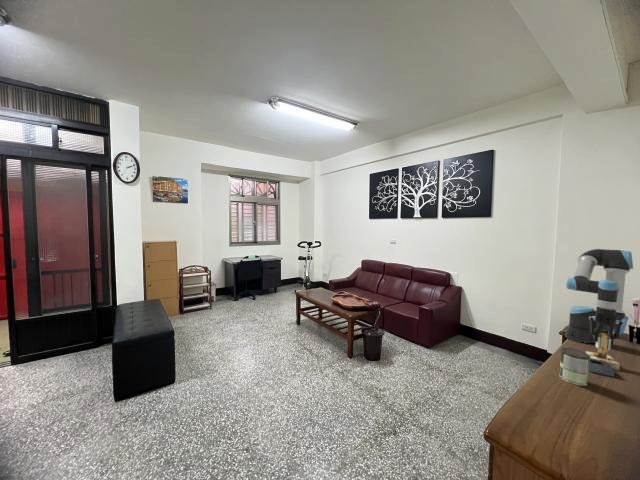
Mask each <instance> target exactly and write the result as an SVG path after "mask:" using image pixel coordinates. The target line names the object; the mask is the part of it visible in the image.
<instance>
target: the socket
mask: <svg viewBox="0 0 640 480" xmlns="http://www.w3.org/2000/svg"><path fill="white" fill-rule="evenodd" d="M588 373H594V374H599V375H604V376H607V377H612V378H614V377H615V370H614V369H613V368H612V367H611V366H610V365H609V364H608V363H607V362H606V361H602V360H597V359H592V358H589V368H588Z"/></svg>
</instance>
